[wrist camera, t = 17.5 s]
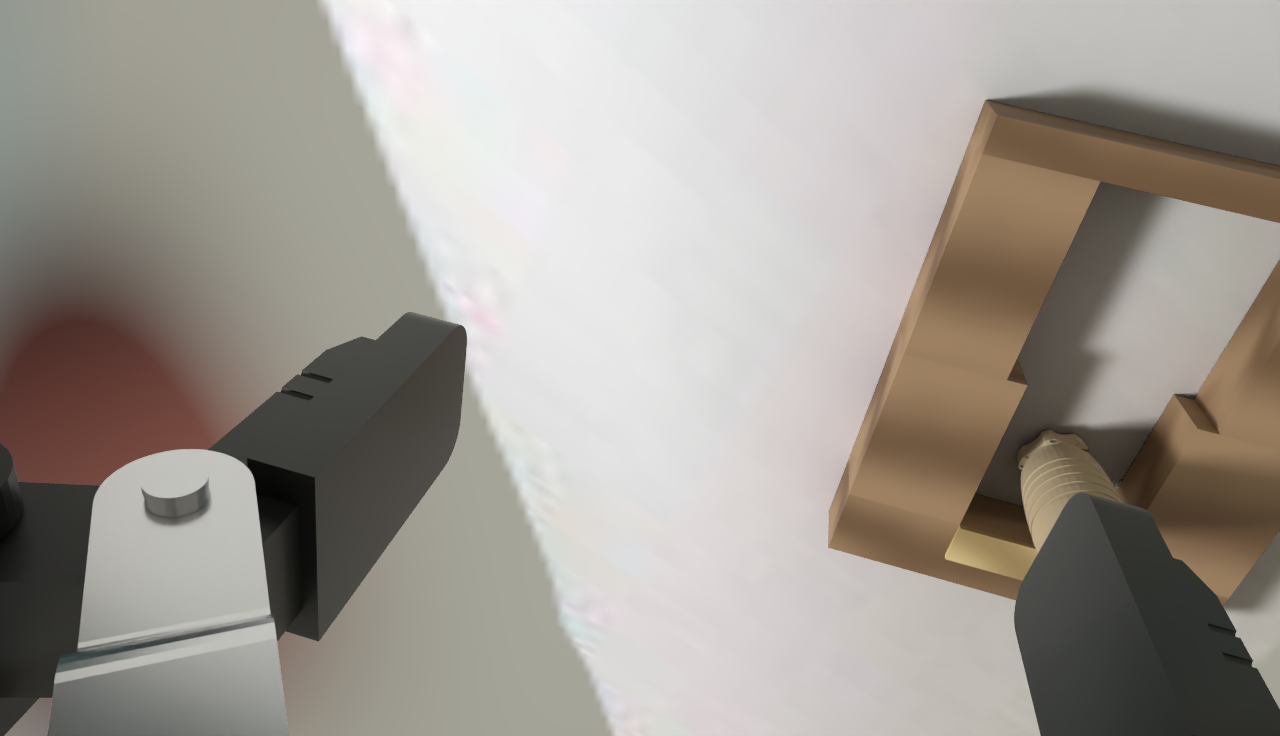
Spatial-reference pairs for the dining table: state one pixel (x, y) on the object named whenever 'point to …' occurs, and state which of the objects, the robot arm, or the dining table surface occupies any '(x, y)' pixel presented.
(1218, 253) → the dining table surface
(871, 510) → the square wooden frame
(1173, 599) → the robot arm
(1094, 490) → the handle
